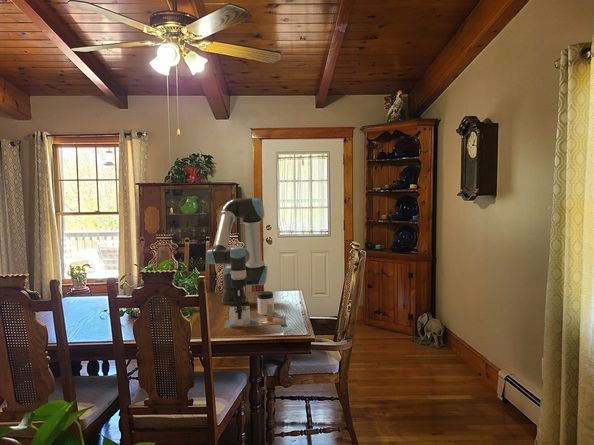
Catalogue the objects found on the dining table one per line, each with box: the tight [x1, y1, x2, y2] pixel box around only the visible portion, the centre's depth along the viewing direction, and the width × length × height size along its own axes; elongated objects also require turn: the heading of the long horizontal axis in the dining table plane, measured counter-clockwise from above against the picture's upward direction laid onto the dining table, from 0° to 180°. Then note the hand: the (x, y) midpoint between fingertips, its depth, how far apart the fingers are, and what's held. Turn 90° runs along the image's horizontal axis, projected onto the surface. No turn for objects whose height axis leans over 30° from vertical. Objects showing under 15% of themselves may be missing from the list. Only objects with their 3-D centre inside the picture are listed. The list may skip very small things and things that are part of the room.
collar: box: [228, 305, 251, 326], centre depth 212 cm, size 10×10×7 cm
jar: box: [256, 290, 275, 316], centre depth 231 cm, size 9×8×12 cm
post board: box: [223, 304, 287, 329], centre depth 213 cm, size 30×14×10 cm, turn 96°
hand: (240, 322), depth 212 cm, fingers closed on collar, post board, 10 cm apart
